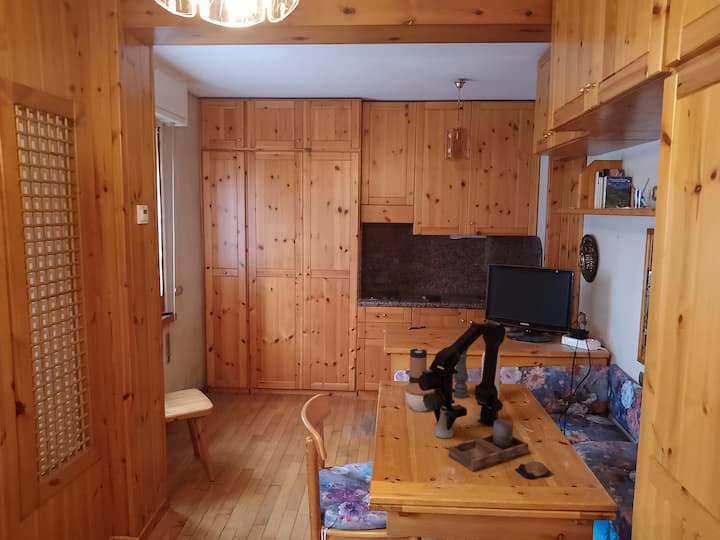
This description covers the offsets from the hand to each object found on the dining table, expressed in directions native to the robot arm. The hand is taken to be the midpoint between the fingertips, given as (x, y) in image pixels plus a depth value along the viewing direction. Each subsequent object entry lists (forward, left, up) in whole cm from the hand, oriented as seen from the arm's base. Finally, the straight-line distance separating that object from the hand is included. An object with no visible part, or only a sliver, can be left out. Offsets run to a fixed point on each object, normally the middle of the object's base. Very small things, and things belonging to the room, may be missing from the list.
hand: (443, 427), depth 190 cm
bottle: (-40, -17, -3) cm, 44 cm away
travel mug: (-18, -40, -3) cm, 44 cm away
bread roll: (-7, +36, -4) cm, 37 cm away
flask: (0, 0, -3) cm, 3 cm away
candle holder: (-33, -28, -3) cm, 43 cm away
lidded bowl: (-8, -25, -3) cm, 26 cm away
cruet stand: (-3, +20, -3) cm, 20 cm away
